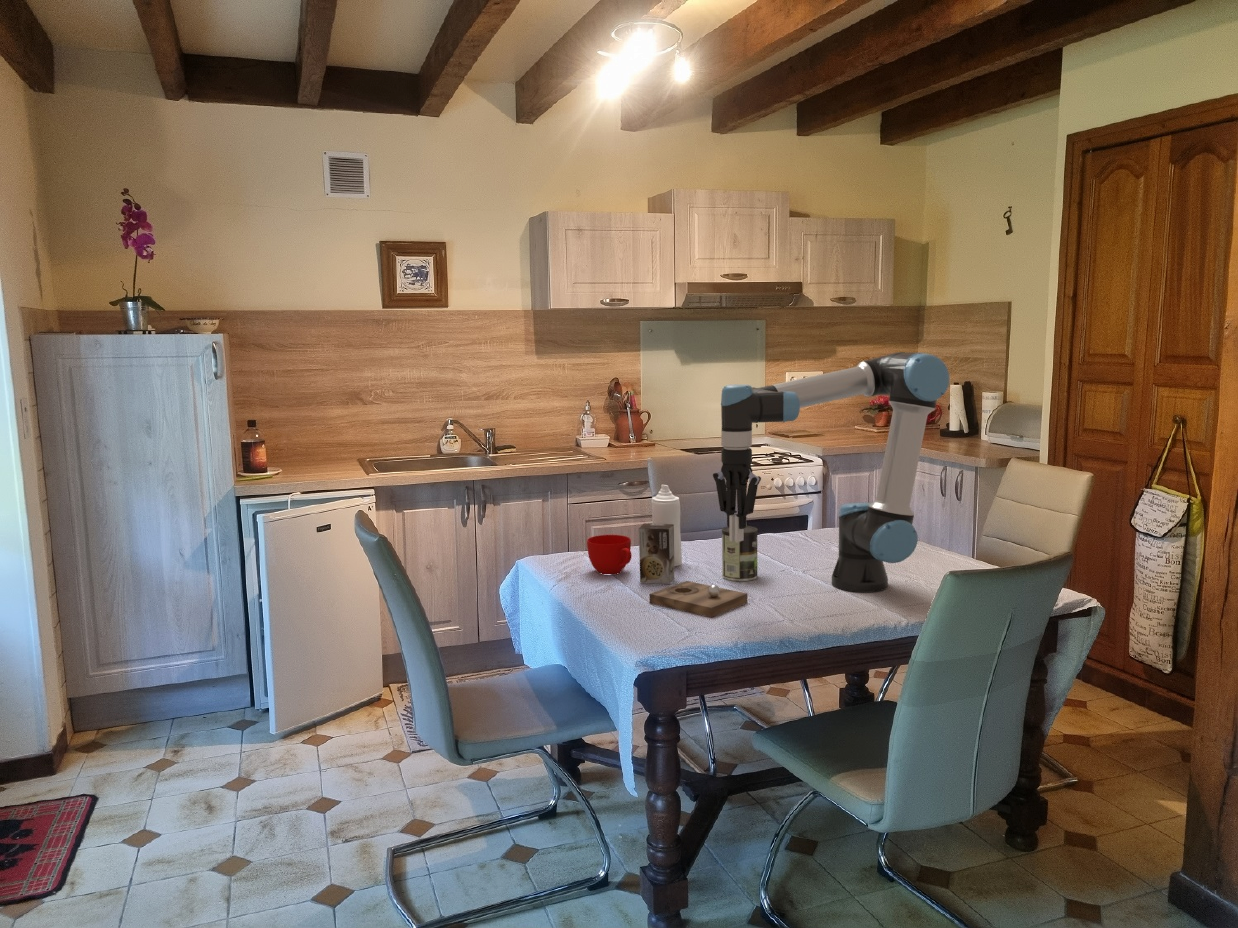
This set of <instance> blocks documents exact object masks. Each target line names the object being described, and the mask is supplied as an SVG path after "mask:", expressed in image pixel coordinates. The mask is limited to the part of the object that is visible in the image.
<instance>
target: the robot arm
mask: <svg viewBox="0 0 1238 928" xmlns="http://www.w3.org/2000/svg"><path fill="white" fill-rule="evenodd" d="M949 384H950V372H949V369H948V367H947V365H946V364H945V362H944V361H943V360H942V359H941V358H939V357H938V356H936V355H934V354H929V353H926V352H901V351H900V352H893V353H889V354H885V355H882V356H879V357H875V358H872V359H868V360H864V361H860V362H859V363H858V364H857V366H854V367H850V368H845V369H840V370H835V371H830V372H826V373H822V374H821V373H820V374H817V375H812V376H807V377H803V378H798V379H794V380H790V381H784V382H780V383H773V384H771V385H766V386H760V387H753V386H752V385H749V384H728V385H725V386H723V387H722V390H721V397H720V398H721V399H720V401H721V402H720V409H721V410H720V411H721V412H720V413H721V415H720V416H721V432H720V434H721V435H720V436H721V437H720V438H721V439H720V441H721V442H720V443H721V445H720V446H721V447H723V448H722V449H721V451H720V452H721V453H720V454H721V455H720V456H721V459H720V461H721V463H722V464H721V465H722V466H721V468H720V470H719V471H717V472H714V473H713V474H712V477H713V480H714V481H715V484H716V492H717V493H716V494H717V497H718V505H719V511H721V512H723V513H725V514H726V525H727V526H726V527H729V541H735V542H740V541H743V540H744V528H746V526H747V516H748V515H751V514H753V513H754V510H755V504H756V498H757V492H758V486H759V484H760V483H761V481H762V477H761V476H759V475H755V474H754V472H753V469H752V463H753V450H752V448H751V447H753V424H757V423H781V422H782V423H785V422H787V423H788V422H794V421H796V420H797V419H798V418H799V415H800V410H801V408H805V407H810V406H815V405H819V404H824V403H829V402H833V401H838V400H843V399H847V398H852V397H856V396H860V395H861V396H862V395H863V396H864V397H866V398H869V397H875V396H889V399H888V403H889V404H890V406H891V408H892V415H891V420H890V424H889V430H888V436H887V440H886V441H887V442H886V444H885V445H886V446H885V450H884V456H883V461H882V466H881V472H880V477H879V483H878V487H877V493H876V497H875V500H874V501H873V502H853V503H852V502H851V503H844V504H842V505H841V506H840V507H839V514H838V557H837V560H836V563H835V566H834V567H833V568H834V569H833V572H832V575H831V585H832V586H833V587H835V588H837V589H839V590H843V591H848V592H856V593H872V592H873V593H874V592H879V591H880V592H881V591H883V590H886V589H888V586H889V577H888V574H887V571H886V567H885V564H884V562H885V563H888V564H897V563H902V562H903V561H905V560H906V559H907V558H909V557H911V555H912V554H913V553H914V551H915V550H916V548H917V545H918V541H919V537H918V532H917V531H916V528H915V526H914V525H913V522H914V519H915V512H914V511H913V510H912V508H911V505H910V504H911V500H912V495H913V491H914V485H915V480H916V475H917V469H918V466H919V460H920V456H921V450H922V444H923V440H924V435H925V431H926V425H927V421H928V415H929V414H931V413H932V412H934V411H936V406H937V401H938V400H939V399H940V398H942V396H943V395H945V394H946V392H947V390H948V388H949ZM736 506H737V510H736Z"/></svg>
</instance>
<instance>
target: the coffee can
mask: <svg viewBox="0 0 1238 928" xmlns="http://www.w3.org/2000/svg"><path fill="white" fill-rule="evenodd" d="M721 528H722V529H721V534H722V535H721V536H722V537H721V541H722V543H721V546H722V547H721V548H722V549H721V551H722V552H721V554H722V555H721V556H722V557H721V558H722V559H721V562H722V567H721V568H722V569H721V570H722V571H721V572H722V574H721V577H722V578H723V579H724V580H728V581H732V582H748V581H749V582H750V581H754V580H757V578H758V577H759V576H758V532H759V529H758V528H757V527H756V526H750V525H746V528H744V540H743V541H740V542H735V541H729V527H728V526H724V527H721Z"/></svg>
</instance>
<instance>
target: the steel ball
mask: <svg viewBox="0 0 1238 928" xmlns="http://www.w3.org/2000/svg"><path fill="white" fill-rule="evenodd" d="M709 586H710V587H709V588H708V594H709V595H710V596H711V597H717V596H718V595H719V594H720V588H721V587H720V586H718V585H717V584H711V585H709Z"/></svg>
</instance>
